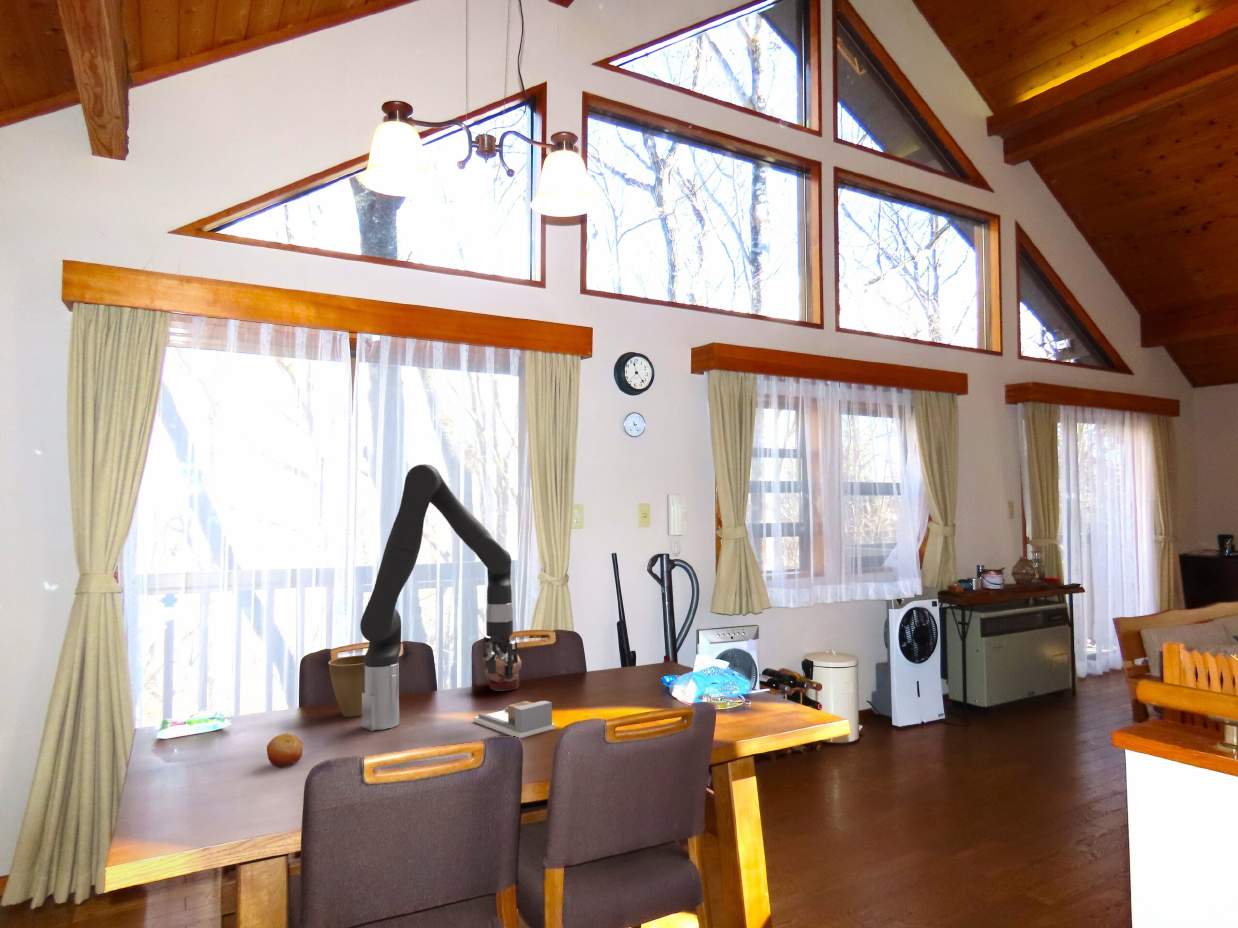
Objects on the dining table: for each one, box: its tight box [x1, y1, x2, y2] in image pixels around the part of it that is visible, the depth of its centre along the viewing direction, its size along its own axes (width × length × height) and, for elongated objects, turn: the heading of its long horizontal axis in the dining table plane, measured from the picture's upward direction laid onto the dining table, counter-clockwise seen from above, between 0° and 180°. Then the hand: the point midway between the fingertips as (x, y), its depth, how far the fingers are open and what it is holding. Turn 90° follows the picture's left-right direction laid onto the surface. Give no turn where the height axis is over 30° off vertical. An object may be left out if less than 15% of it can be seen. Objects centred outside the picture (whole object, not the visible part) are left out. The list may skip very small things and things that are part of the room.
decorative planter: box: [482, 649, 522, 692], centre depth 256 cm, size 20×12×14 cm, turn 36°
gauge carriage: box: [507, 700, 542, 725], centre depth 208 cm, size 9×6×6 cm, turn 132°
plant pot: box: [328, 654, 365, 718], centre depth 228 cm, size 15×15×16 cm
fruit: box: [266, 733, 304, 769], centre depth 184 cm, size 8×8×8 cm
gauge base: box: [473, 700, 556, 739], centre depth 212 cm, size 12×22×7 cm, turn 42°
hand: (500, 675), depth 217 cm, fingers open, 8 cm apart
